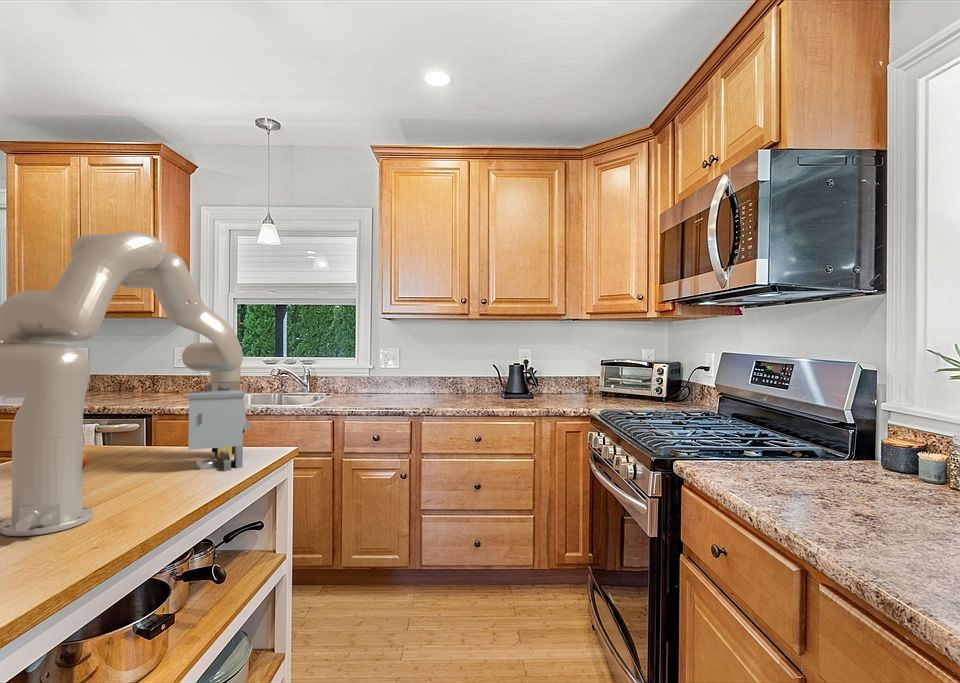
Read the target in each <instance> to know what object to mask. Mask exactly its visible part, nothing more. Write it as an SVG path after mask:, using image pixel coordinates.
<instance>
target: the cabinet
mask: <svg viewBox="0 0 960 683" xmlns="http://www.w3.org/2000/svg"><path fill="white" fill-rule="evenodd" d="M187 392H188V393H187V400H188V447H187V450H188V451H191V450H192V451H193V450H195V451H196V450H203V449H204V450H205V449H212V448H220V447H233V446H234V454H233V462H235V463H234V466H235V468H236V469H238V468H237V467H241V468H243V460H244V459H243V458H244V456H243V454H244V453H243V451H244V450H243V449H244V442H243V441H244V440H243V438H244V433H243V397H244V398H245V396H246V393H245V392H244V390H243V389H240V390H230V391H210V390H207V391H205V390H203V391H187Z"/></svg>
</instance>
